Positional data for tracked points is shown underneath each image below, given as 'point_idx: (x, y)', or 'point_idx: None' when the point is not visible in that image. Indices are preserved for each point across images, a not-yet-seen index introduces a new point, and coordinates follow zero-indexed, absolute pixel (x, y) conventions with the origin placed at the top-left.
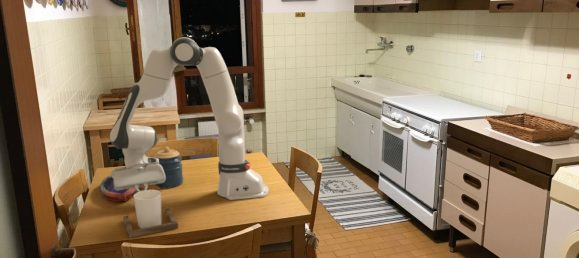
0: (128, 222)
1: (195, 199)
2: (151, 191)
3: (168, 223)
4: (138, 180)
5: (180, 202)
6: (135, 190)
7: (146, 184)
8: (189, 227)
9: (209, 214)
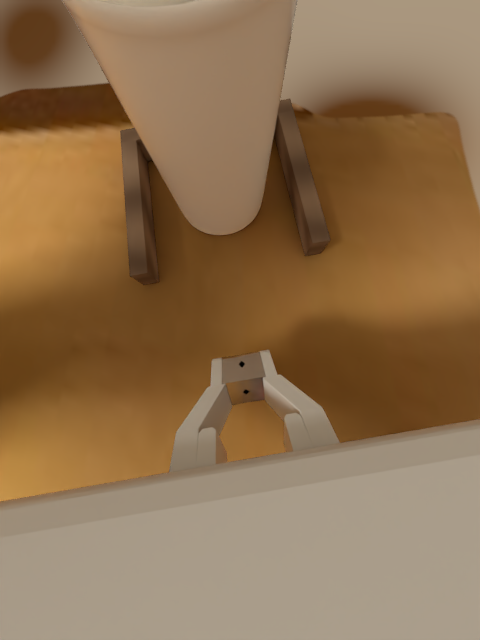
0: (301, 175)
1: (7, 402)
2: (132, 39)
3: None
4: (300, 522)
5: (79, 386)
6: None
7: (188, 447)
8: (98, 150)
9: (9, 227)
